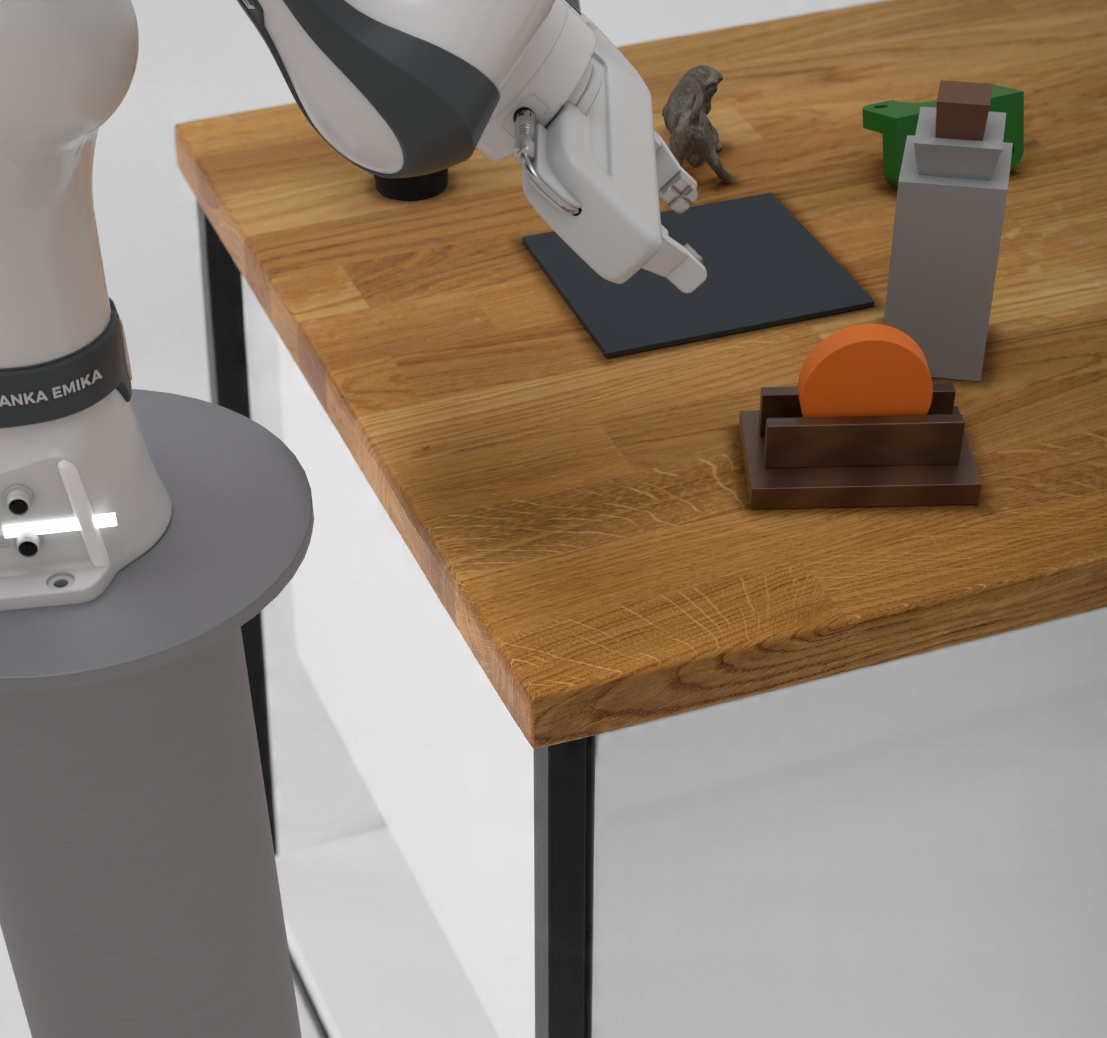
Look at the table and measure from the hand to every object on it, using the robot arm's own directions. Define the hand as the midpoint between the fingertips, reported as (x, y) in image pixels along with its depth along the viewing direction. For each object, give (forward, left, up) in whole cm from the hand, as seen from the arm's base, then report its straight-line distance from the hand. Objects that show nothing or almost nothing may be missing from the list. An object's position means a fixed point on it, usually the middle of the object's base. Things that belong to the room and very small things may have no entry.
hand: (694, 239), depth 118 cm
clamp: (+34, +33, -16) cm, 50 cm away
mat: (+10, +24, -16) cm, 31 cm away
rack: (+10, -3, -16) cm, 19 cm away
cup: (-5, +45, -16) cm, 48 cm away
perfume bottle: (+21, +8, -16) cm, 28 cm away
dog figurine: (+17, +41, -16) cm, 47 cm away
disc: (+10, -3, -10) cm, 15 cm away
